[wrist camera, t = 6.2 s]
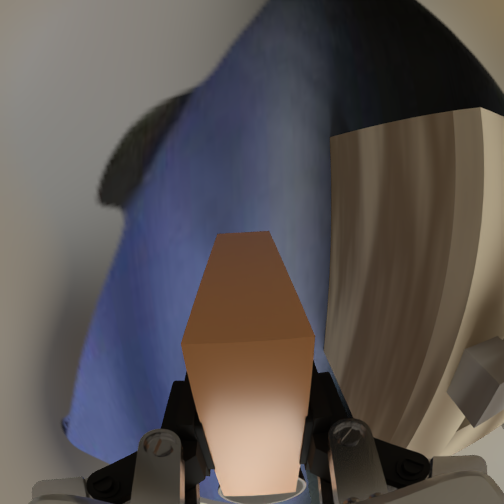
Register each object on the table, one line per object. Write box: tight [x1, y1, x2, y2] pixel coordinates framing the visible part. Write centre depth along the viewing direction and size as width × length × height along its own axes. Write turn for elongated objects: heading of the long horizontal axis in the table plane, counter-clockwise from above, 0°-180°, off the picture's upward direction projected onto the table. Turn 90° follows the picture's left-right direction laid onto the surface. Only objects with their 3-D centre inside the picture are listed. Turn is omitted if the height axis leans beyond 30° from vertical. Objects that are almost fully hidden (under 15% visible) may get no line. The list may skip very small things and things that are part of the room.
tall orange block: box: [181, 231, 315, 496], centre depth 13 cm, size 3×8×11 cm, turn 3°
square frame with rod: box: [324, 107, 504, 459], centre depth 15 cm, size 20×20×18 cm
